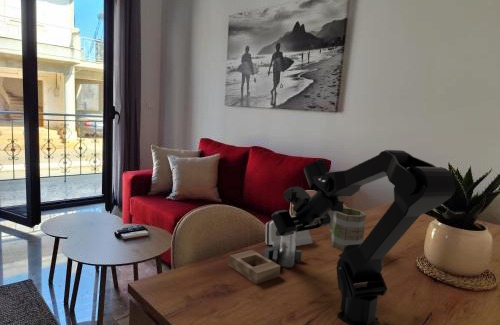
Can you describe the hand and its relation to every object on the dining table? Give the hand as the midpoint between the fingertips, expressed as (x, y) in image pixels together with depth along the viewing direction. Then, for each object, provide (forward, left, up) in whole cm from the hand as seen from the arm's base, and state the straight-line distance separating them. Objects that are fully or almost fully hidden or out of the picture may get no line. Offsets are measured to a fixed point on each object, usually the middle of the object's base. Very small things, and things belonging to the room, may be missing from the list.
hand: (285, 232), depth 97 cm
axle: (-2, 0, -9) cm, 9 cm away
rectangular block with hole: (0, +11, -9) cm, 14 cm away
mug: (+1, -29, -9) cm, 31 cm away
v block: (+1, 0, -9) cm, 9 cm away
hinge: (+11, -13, -9) cm, 19 cm away
